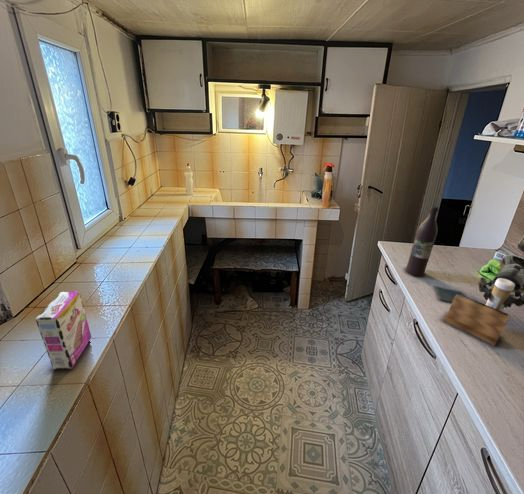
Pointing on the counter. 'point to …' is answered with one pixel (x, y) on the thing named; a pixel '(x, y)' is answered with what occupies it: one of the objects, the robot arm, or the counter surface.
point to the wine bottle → (423, 244)
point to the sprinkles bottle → (500, 293)
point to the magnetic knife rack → (476, 318)
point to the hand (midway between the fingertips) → (496, 300)
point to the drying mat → (447, 294)
